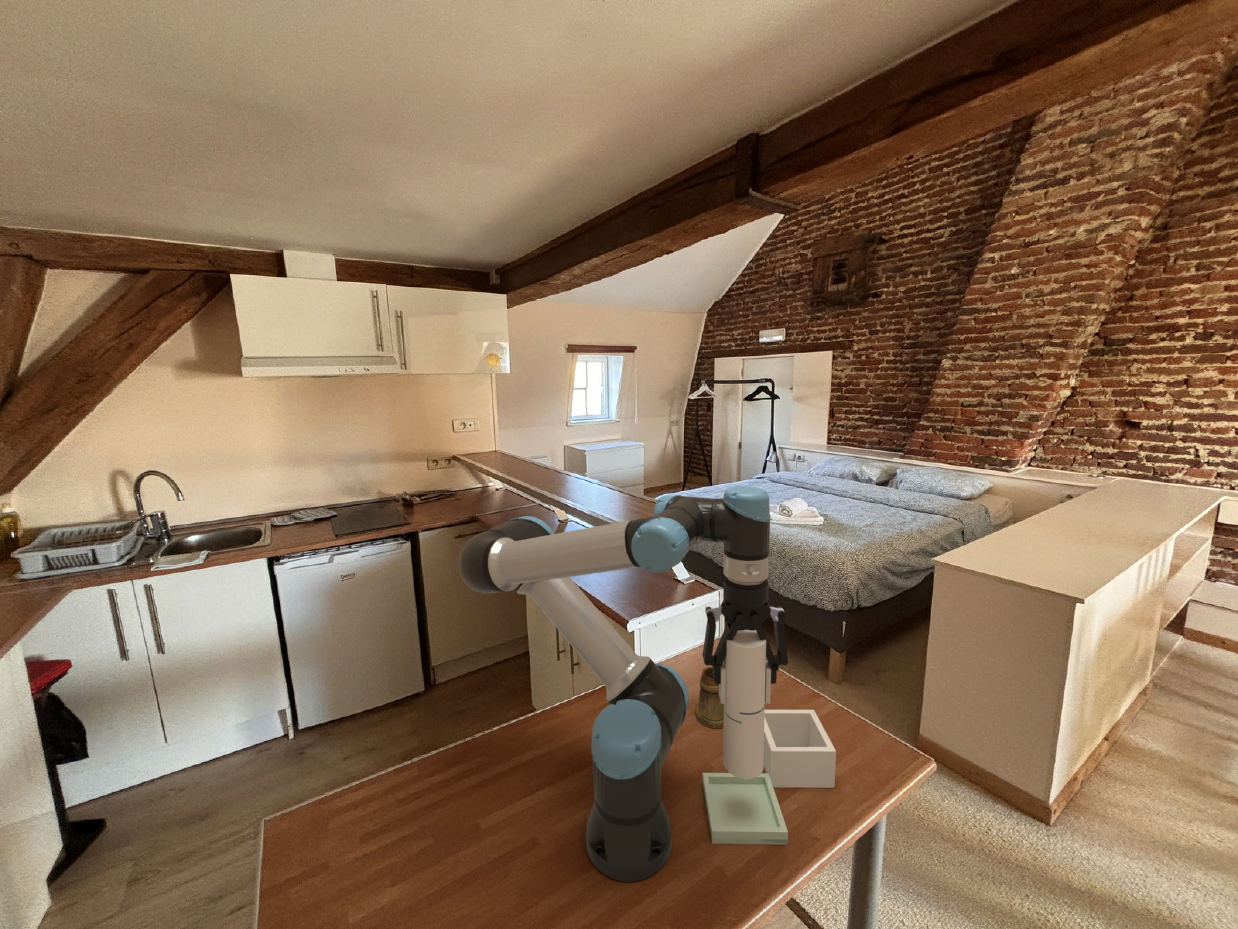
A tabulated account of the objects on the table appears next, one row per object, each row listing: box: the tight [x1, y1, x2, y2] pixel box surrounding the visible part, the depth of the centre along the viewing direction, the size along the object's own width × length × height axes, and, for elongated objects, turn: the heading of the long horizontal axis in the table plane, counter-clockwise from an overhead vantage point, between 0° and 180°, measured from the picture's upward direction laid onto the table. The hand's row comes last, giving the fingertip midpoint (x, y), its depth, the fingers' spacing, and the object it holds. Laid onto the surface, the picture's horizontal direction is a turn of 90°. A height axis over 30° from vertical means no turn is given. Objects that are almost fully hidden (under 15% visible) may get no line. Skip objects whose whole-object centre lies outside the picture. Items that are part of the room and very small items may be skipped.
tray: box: [702, 772, 789, 846], centre depth 92 cm, size 13×13×2 cm
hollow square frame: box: [763, 709, 837, 789], centre depth 102 cm, size 12×12×8 cm
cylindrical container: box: [722, 630, 767, 779], centre depth 88 cm, size 7×7×25 cm
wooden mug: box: [695, 666, 724, 730], centre depth 118 cm, size 9×14×18 cm, turn 114°
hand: (744, 698), depth 88 cm, fingers closed on cylindrical container, 7 cm apart
